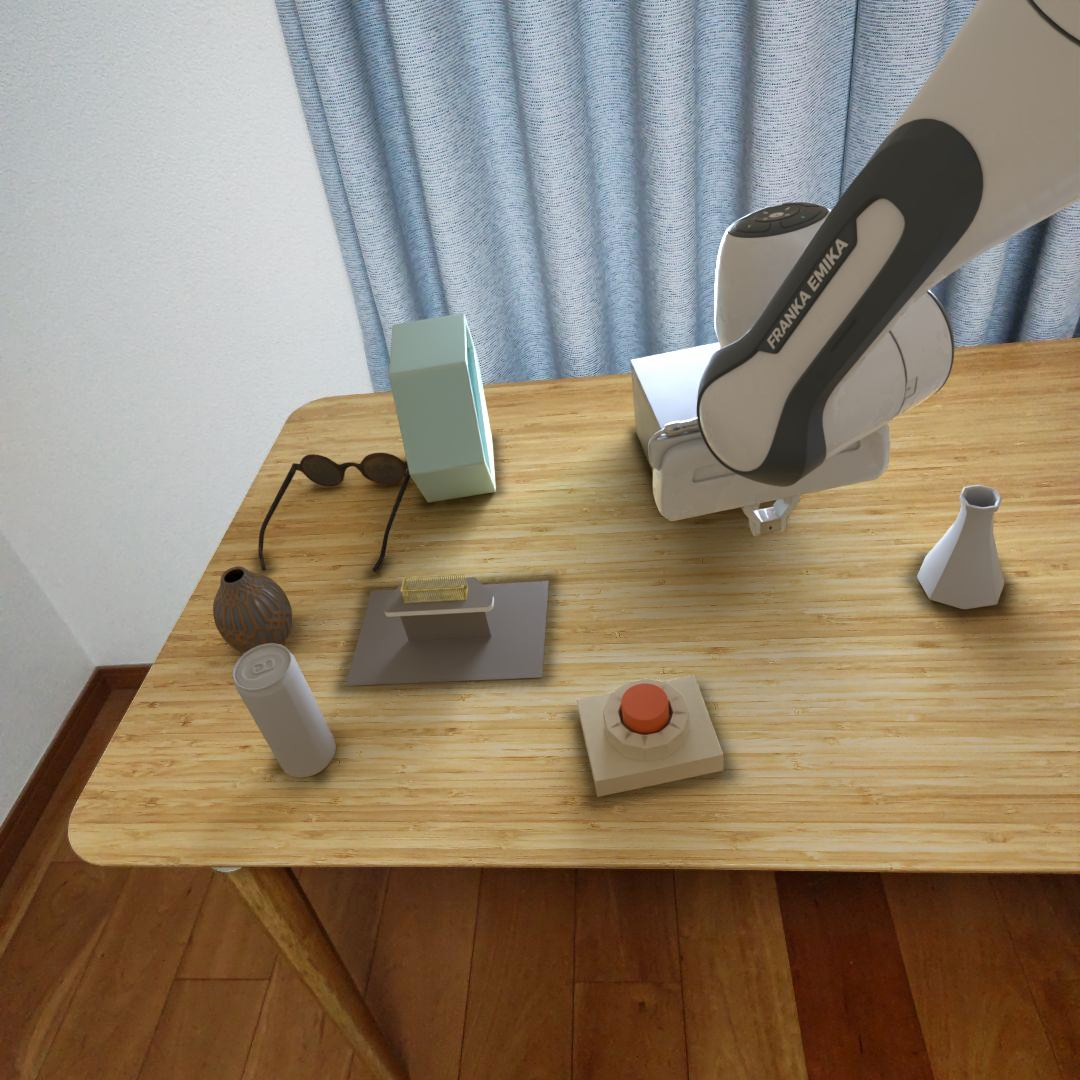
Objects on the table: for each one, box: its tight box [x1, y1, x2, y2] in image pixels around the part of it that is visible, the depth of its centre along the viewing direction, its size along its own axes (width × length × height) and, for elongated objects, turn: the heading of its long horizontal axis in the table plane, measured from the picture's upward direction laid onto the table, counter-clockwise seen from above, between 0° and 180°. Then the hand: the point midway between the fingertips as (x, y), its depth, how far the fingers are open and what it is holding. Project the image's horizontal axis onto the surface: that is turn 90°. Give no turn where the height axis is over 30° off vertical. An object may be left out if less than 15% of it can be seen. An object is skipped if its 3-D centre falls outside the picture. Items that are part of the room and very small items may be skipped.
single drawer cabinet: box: [629, 341, 720, 473], centre depth 95 cm, size 15×13×10 cm
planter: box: [388, 312, 497, 503], centre depth 97 cm, size 17×8×21 cm
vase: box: [212, 565, 293, 654], centre depth 84 cm, size 7×7×9 cm
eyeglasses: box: [257, 452, 411, 573], centre depth 97 cm, size 15×15×5 cm
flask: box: [916, 484, 1005, 610], centre depth 77 cm, size 7×7×10 cm
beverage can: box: [232, 643, 337, 778], centre depth 72 cm, size 5×5×12 cm
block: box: [575, 674, 724, 798], centre depth 71 cm, size 10×8×4 cm
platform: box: [345, 573, 550, 687], centre depth 82 cm, size 12×18×7 cm, turn 87°
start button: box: [621, 683, 669, 734], centre depth 69 cm, size 4×4×2 cm
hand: (767, 529), depth 82 cm, fingers closed
